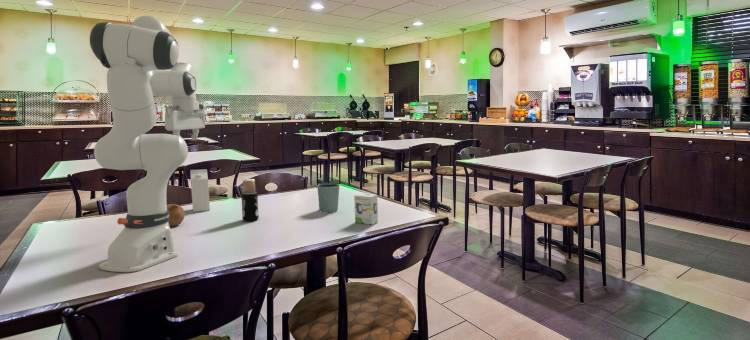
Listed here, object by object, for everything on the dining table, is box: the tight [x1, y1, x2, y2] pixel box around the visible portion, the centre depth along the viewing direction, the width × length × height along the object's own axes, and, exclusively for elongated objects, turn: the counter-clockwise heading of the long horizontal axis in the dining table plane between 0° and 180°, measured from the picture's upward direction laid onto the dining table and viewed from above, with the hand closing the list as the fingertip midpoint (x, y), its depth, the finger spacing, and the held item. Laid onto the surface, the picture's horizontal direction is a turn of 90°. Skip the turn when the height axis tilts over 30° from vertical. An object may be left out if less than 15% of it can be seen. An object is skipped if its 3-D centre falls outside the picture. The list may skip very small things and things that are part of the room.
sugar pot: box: [242, 178, 256, 193], centre depth 178 cm, size 5×5×5 cm
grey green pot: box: [316, 183, 340, 213], centre depth 196 cm, size 10×10×12 cm
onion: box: [167, 203, 186, 227], centre depth 172 cm, size 10×9×10 cm
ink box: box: [353, 192, 379, 226], centre depth 174 cm, size 9×5×12 cm, turn 62°
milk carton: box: [190, 168, 211, 213], centre depth 197 cm, size 7×7×19 cm
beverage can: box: [241, 190, 260, 223], centre depth 179 cm, size 7×7×12 cm
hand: (187, 141), depth 169 cm, fingers open, 8 cm apart
